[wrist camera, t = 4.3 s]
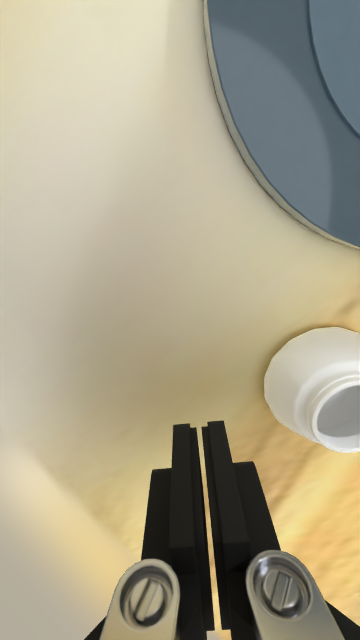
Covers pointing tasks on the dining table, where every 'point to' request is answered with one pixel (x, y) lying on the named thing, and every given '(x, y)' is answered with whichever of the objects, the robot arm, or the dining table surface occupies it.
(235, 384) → the dining table surface
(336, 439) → the lidless jar
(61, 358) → the dining table surface
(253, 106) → the plate
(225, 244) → the dining table surface
